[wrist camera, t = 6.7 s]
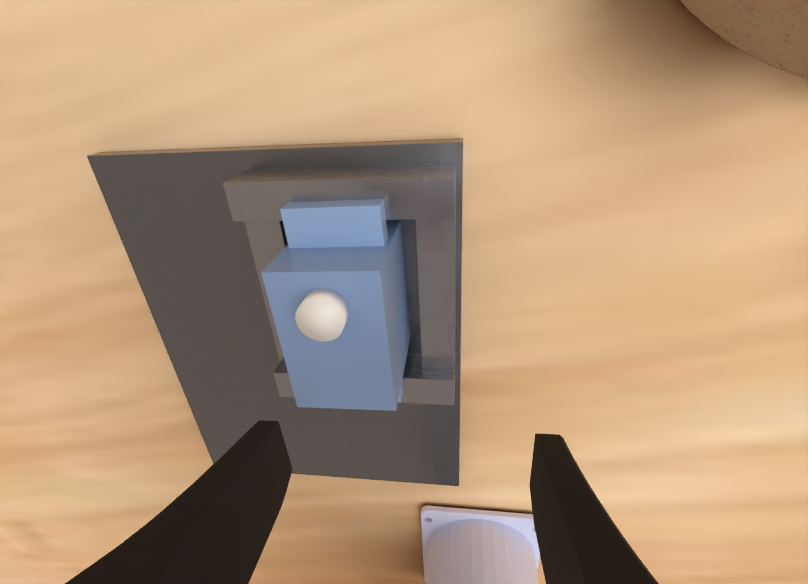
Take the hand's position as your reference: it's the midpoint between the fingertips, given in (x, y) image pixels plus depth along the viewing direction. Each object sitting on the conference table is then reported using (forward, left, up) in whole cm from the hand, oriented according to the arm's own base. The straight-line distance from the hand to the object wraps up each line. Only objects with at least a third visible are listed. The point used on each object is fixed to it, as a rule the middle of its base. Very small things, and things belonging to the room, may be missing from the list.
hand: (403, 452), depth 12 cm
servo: (+1, +3, -9) cm, 9 cm away
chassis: (-3, +7, -10) cm, 12 cm away
